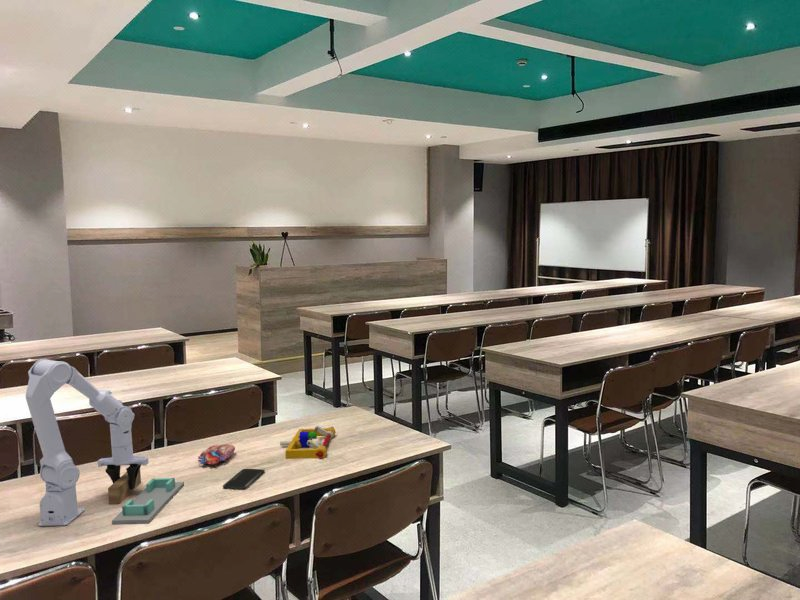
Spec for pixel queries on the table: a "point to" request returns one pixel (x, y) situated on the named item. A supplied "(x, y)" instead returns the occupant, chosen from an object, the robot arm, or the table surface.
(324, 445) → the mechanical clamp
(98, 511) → the table surface
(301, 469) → the table surface
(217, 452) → the anatomical model
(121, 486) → the slat
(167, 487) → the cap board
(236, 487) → the phone
